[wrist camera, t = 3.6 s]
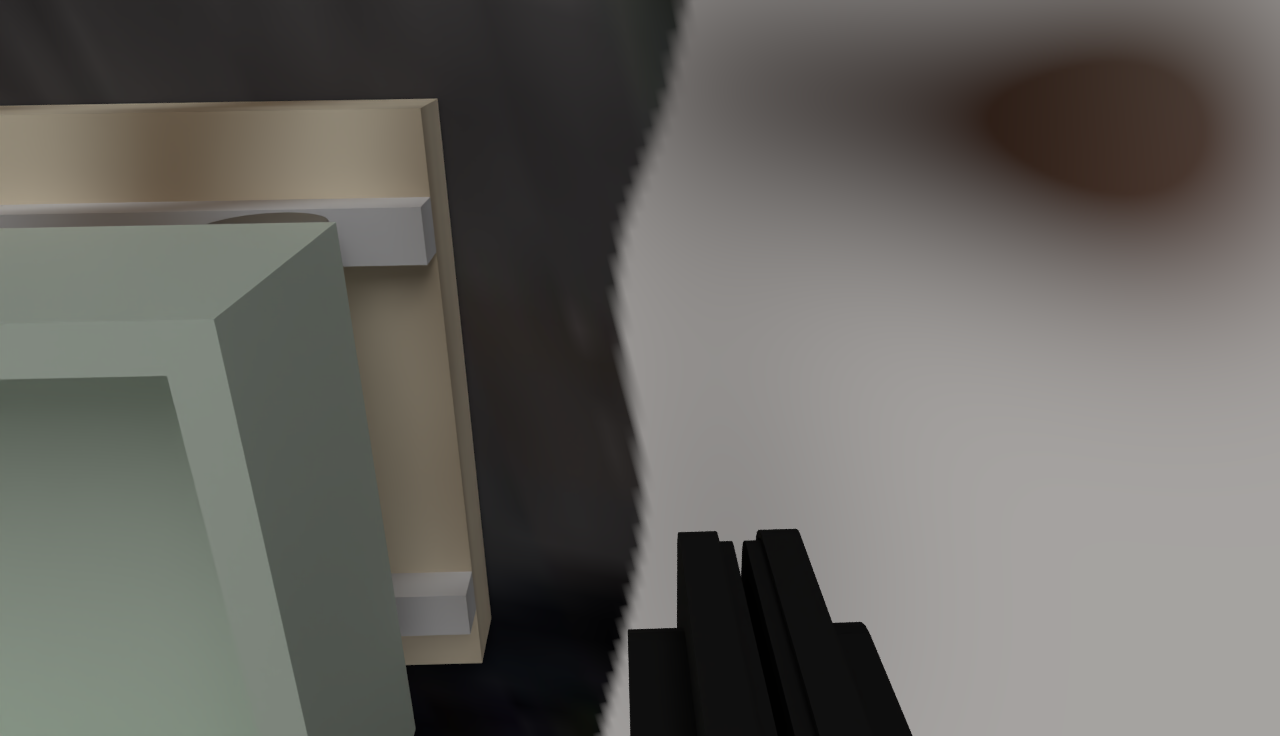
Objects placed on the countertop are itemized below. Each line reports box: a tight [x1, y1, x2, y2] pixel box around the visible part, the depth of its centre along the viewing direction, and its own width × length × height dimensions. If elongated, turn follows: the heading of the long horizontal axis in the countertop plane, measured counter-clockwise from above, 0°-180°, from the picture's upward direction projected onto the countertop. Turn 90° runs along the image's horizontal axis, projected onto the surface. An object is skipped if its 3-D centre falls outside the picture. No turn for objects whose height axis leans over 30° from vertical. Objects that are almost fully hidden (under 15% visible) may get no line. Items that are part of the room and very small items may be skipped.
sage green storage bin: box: [0, 212, 416, 736], centre depth 13 cm, size 10×10×6 cm
